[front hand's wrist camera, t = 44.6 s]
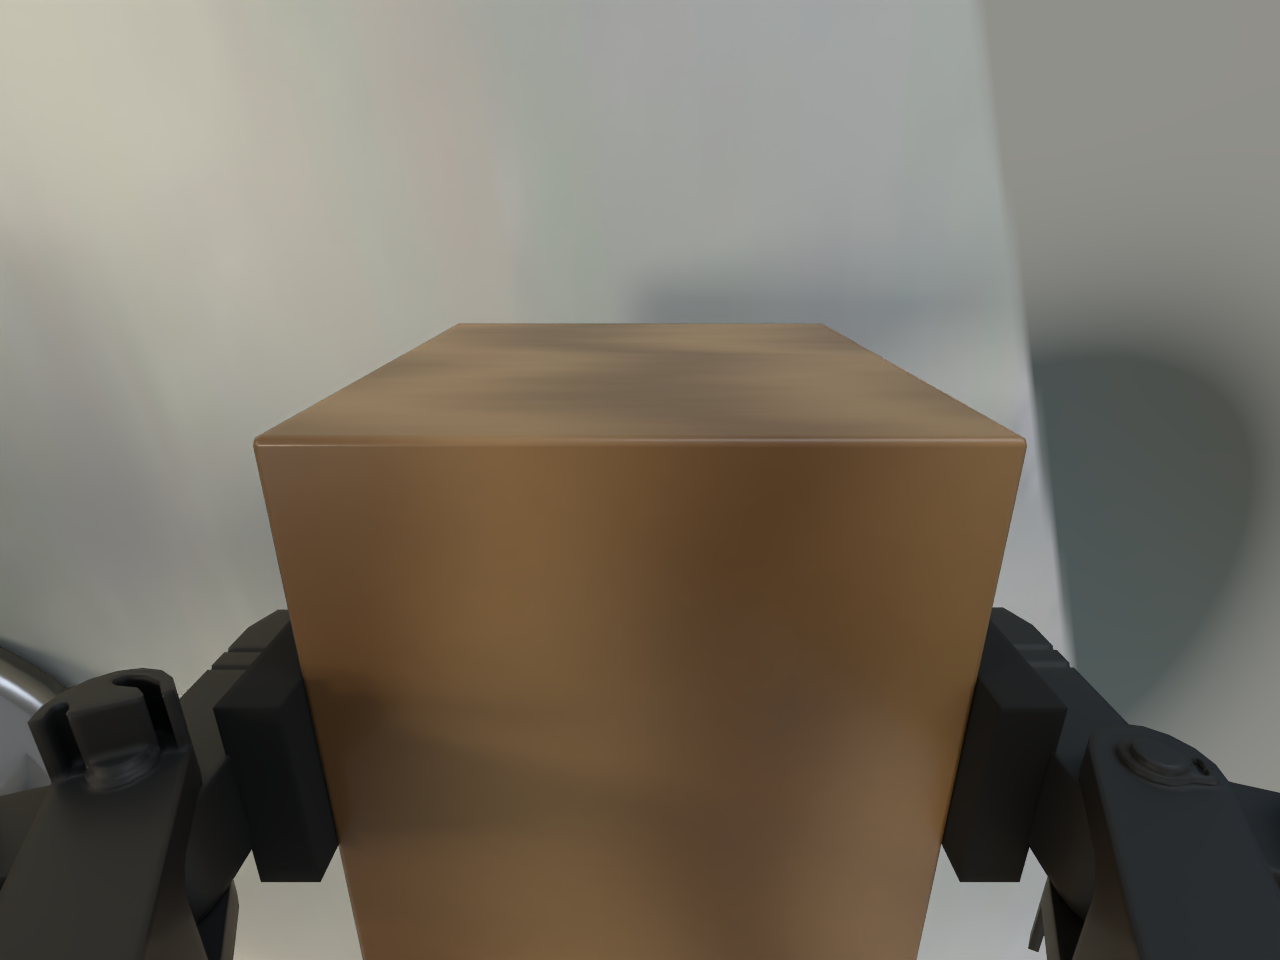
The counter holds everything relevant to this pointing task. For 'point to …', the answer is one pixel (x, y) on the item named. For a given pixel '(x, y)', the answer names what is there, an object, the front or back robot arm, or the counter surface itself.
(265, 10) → the counter surface
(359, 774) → the block
